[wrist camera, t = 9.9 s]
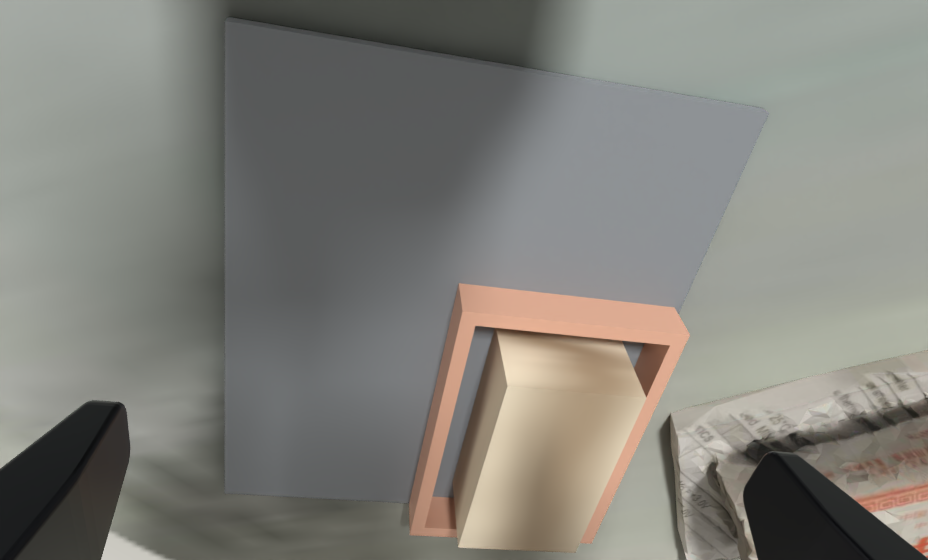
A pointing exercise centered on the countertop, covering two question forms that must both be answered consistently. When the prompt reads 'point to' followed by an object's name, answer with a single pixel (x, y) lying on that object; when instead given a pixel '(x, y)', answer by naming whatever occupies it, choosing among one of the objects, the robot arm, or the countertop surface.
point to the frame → (546, 316)
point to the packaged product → (807, 450)
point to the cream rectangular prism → (543, 439)
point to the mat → (429, 235)
